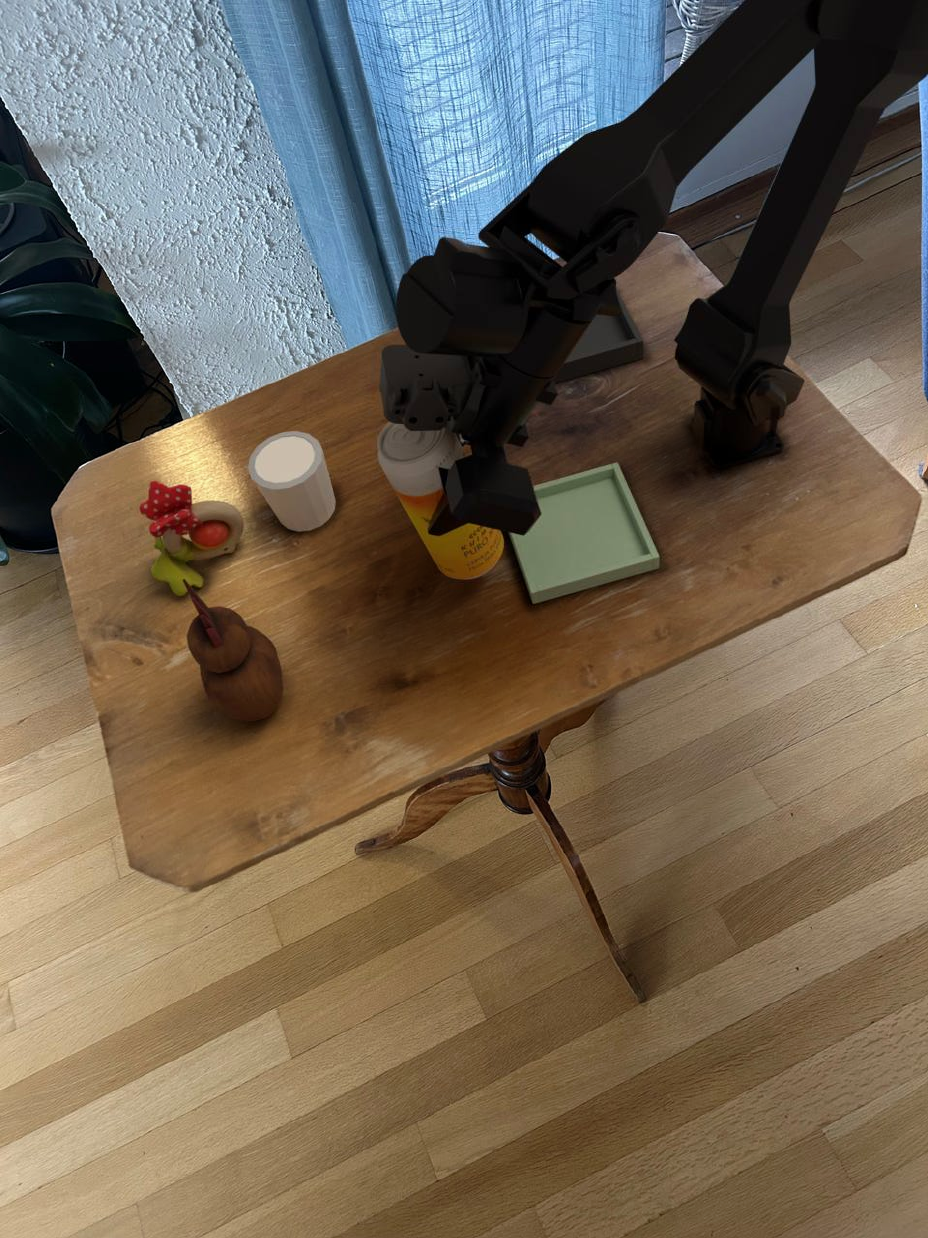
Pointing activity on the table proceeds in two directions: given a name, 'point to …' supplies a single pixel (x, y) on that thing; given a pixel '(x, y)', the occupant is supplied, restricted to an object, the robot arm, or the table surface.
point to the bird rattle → (188, 532)
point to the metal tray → (604, 346)
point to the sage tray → (584, 535)
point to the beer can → (435, 497)
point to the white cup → (294, 479)
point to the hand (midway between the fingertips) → (427, 504)
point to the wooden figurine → (234, 662)
